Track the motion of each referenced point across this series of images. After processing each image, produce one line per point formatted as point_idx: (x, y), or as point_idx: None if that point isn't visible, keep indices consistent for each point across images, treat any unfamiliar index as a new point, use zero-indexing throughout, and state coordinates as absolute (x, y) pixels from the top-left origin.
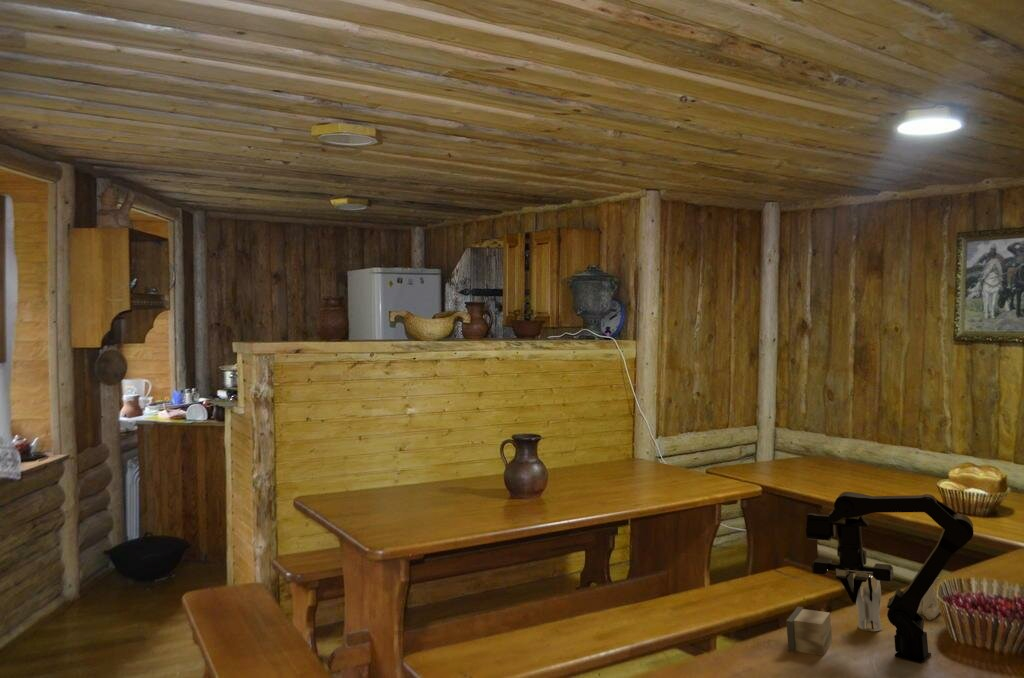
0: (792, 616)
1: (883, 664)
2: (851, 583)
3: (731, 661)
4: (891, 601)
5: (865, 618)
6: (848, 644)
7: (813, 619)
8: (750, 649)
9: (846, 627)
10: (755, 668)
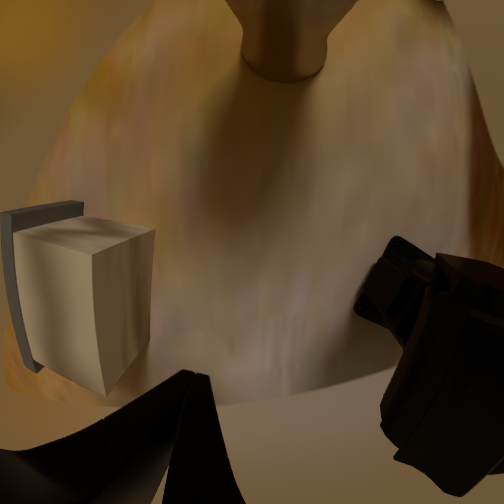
0: (18, 329)
1: (310, 366)
2: (122, 498)
3: (32, 371)
4: (442, 440)
5: (271, 55)
6: (207, 232)
7: (67, 352)
8: None
9: (201, 65)
10: (67, 399)
